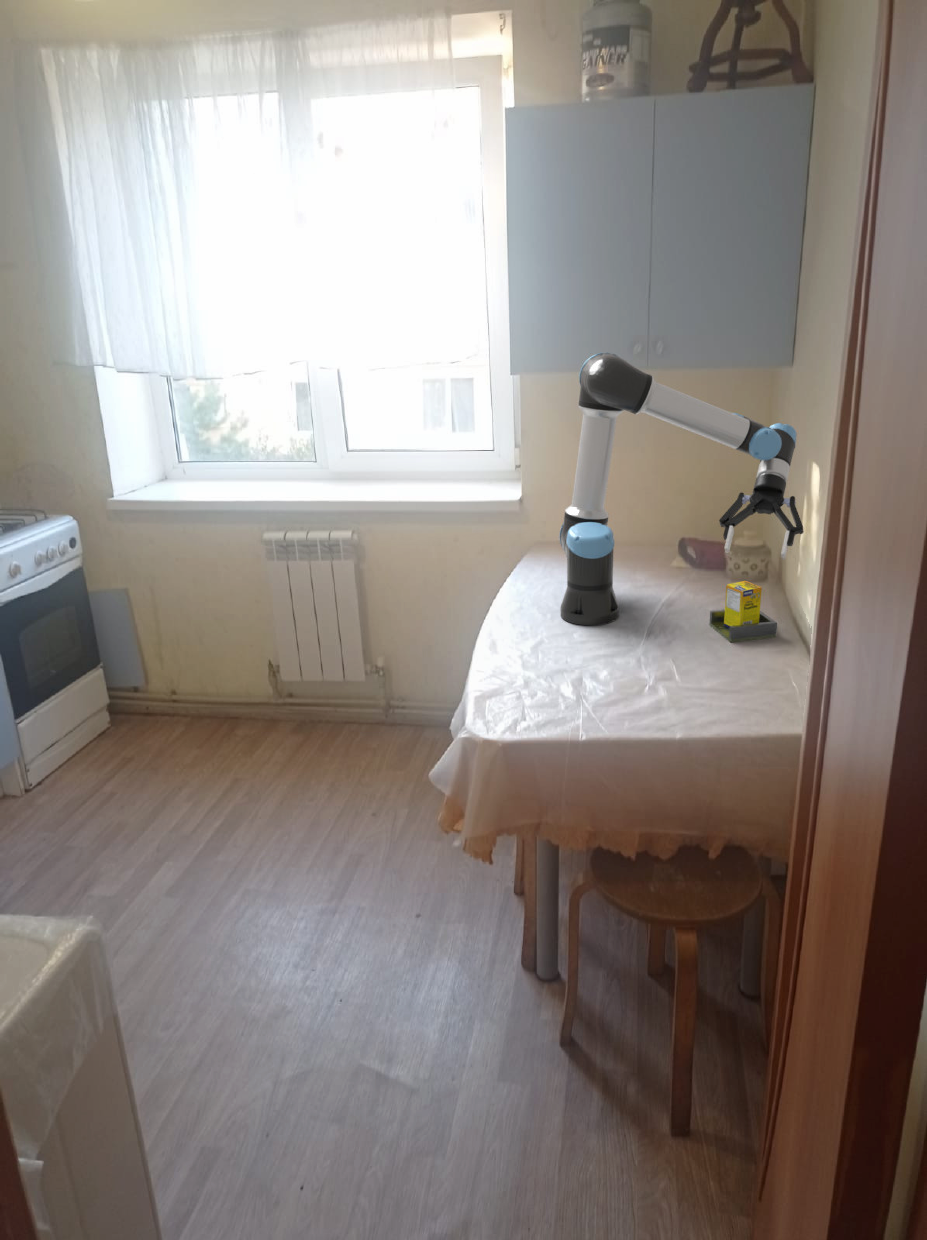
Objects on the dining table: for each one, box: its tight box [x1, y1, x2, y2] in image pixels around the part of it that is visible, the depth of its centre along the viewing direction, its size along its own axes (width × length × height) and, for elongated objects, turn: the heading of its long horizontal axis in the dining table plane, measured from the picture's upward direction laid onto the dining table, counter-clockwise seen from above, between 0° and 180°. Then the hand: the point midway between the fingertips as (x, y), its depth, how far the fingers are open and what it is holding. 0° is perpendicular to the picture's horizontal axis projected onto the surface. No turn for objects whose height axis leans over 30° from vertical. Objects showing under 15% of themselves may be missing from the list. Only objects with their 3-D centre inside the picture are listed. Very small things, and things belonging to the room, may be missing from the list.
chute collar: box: [708, 609, 778, 644], centre depth 214 cm, size 12×12×4 cm
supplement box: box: [724, 580, 763, 628], centre depth 213 cm, size 6×6×11 cm
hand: (754, 553), depth 218 cm, fingers open, 13 cm apart
